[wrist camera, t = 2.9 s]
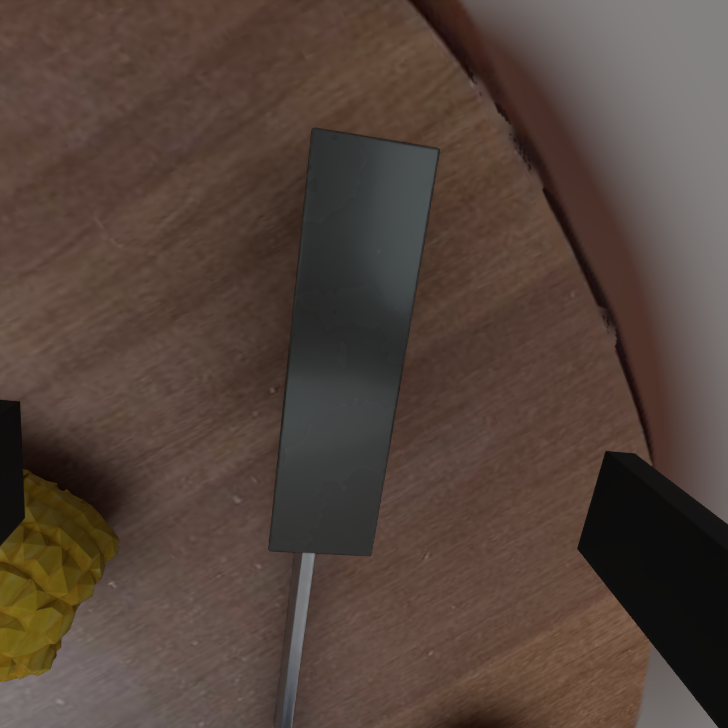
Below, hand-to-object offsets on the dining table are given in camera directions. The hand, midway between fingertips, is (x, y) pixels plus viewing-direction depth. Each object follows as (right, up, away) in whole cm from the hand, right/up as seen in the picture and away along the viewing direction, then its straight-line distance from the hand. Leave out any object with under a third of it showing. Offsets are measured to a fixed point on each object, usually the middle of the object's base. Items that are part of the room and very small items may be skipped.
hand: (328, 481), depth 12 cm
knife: (-1, -2, +8) cm, 8 cm away
